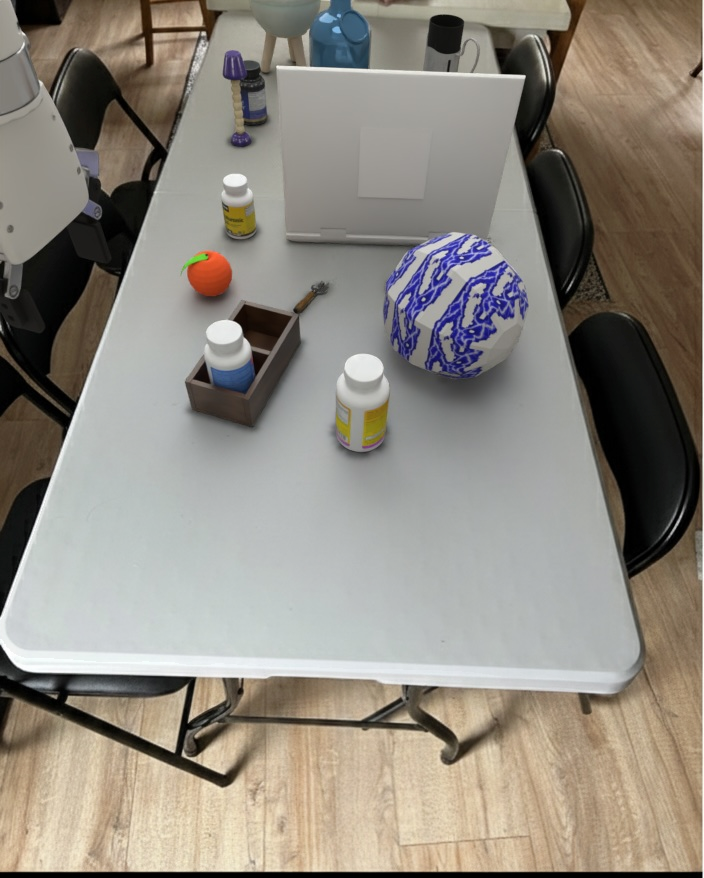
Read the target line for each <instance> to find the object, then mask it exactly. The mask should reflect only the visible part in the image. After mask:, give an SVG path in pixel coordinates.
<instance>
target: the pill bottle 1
mask: <svg viewBox="0 0 704 878" xmlns="http://www.w3.org/2000/svg"><path fill="white" fill-rule="evenodd" d="M205 339H206V344H205V346H204V348H203V354H204V357H205V362H206V366H207V371H208V375H209V379H210V384H211V385H215V386H218V387H222V388H225V389H229V390H232V391H236V392H239V393H243V394H246V393H247V391H248V389H249V388H250V386H251V384H252V383H253V381H254V379H255V372H254V365H253V358H252V351H251V346H250V344H249V342H248V341H247V340H246V339H245V338H244V336H243V332H242V328H241V326H240V325H239V324H238V323H236V322H234V321H230V320H228V319H223V320H217V321H215V322H213V323H211V324H210V325H209V326H207V329H206V331H205Z"/></svg>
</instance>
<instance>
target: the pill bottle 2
mask: <svg viewBox="0 0 704 878" xmlns="http://www.w3.org/2000/svg"><path fill="white" fill-rule="evenodd" d="M243 61H244V65H245V68H246V71H247V76H246V78H244V79H241V80H240V84H239V85H240V89H241V91H240V94H241V103H242V111H243V120H244V124H245V125H247V126H259V125H262V124H264V123H265V122H266V121H267V120H268V107H267V95H266V94H267V93H266V92H267V91H266V81H265V78H264V76H263V75H262V74H261V72H262V71H261V63H260V62H258V61H256V60H252V59H245V60H244V59H243ZM244 124H243V125H244Z"/></svg>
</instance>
